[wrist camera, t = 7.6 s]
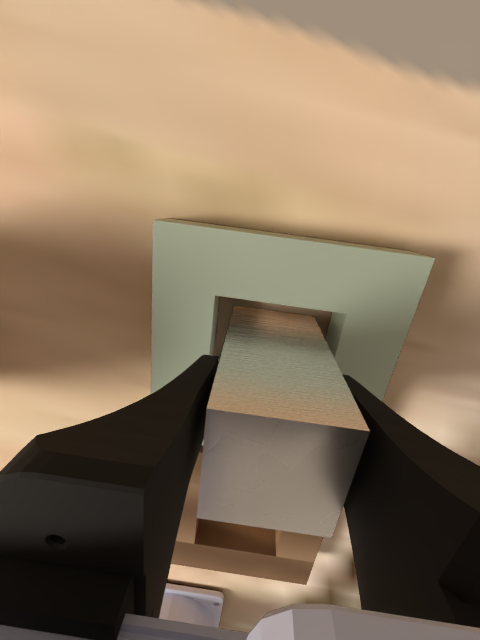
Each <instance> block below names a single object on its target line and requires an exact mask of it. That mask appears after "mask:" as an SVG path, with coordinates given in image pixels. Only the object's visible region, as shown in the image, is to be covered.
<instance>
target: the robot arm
mask: <svg viewBox="0 0 480 640" xmlns="http://www.w3.org/2000/svg"><path fill="white" fill-rule="evenodd" d="M218 359H219V357H218V356H211V355H204V354H203V355H202V356H201V357H199V358H198V359H197V360H196V361H195V362H194V363H193V364H192V365H191V366H189V367H188V368H187V369H186V370H185V371H183V372H182V373H181V374H180V375H178V376H177V377H176V378H175V379H173V380H172V381H170V382H169V383H167V384H166V385H165V386H163V387H162V388H160V389H159V390H157V391H156V392H154V393H152V394H150V395H149V396H147V397H145V398H143V399H141V400H139V401H137V402H135V403H133V404H131V405H128V406H126V407H124V408H122V409H120V410H117V411H115V412H113V413H110V414H107V415H105V416H102V417H99V418H96V419H93V420H90V421H88V422H85V423H81V424H78V425H75V426H71V427H67V428H63V429H60V430H56V431H52V432H48V433H44V434H40V435H37V436H36V437H35V438H34V439H32V440H31V441H30V442H29V443H28V444H27V445H26V446H25V447H24V448H23V449H22V450H21V451H20V452H19V453H18V454H17V455H16V456H15V457H14V458H13V459H12V460H11V461H10V462H9V463H8V464H7V465H6V466H5V467H4V468H3V469H2V470H1V471H0V640H480V466H478V465H476V464H475V463H473V462H471V461H469V460H467V459H466V458H464V457H462V456H460V455H458V454H457V453H455V452H453V451H452V450H450V449H448V448H447V447H445V446H443V445H442V444H440V443H439V442H437V441H435V440H434V439H432V438H431V437H429V436H428V435H426V434H425V433H423V432H422V431H420V430H419V429H417V428H416V427H414V426H413V425H412V424H410V423H409V422H408V421H406V420H405V419H403V418H402V417H401V416H399V415H398V414H397V413H395V412H394V411H393V410H392V409H390V408H389V407H388V406H387V405H385V404H384V403H383V402H382V401H380V400H379V399H378V398H377V397H376V396H374V395H373V394H372V393H371V392H370V391H368V390H367V389H366V388H365V387H363V386H362V385H361V384H360V383H359V382H357V381H356V380H355V379H353V378H352V377H351V376H349V375H344V374H342V375H343V377H344V379H345V381H346V383H347V385H348V387H349V389H350V391H351V394H352V396H353V398H354V400H355V402H356V404H357V406H358V408H359V410H360V412H361V414H362V416H363V418H364V420H365V422H366V424H367V426H368V428H369V430H370V433H369V435H368V438H367V441H366V444H365V446H364V449H363V452H362V455H361V458H360V460H359V463H358V466H357V469H356V471H355V474H354V477H353V480H352V483H351V485H350V488H349V491H348V494H347V496H346V499H345V502H344V508H345V513H346V518H347V523H348V528H349V534H350V539H351V545H352V550H353V556H354V562H355V568H356V574H357V580H358V587H359V594H360V600H361V607H362V609H355V608H349V607H342V606H336V605H330V604H292V605H289V606H286V607H283V608H280V609H277V610H274V611H271V612H268V613H266V615H265V616H264V617H263V618H262V619H261V620H260V622H259V623H258V624H257V625H256V626H255V628H254V629H253V630H252V631H251V633H246V632H240V631H234V630H228V629H221V628H219V623H220V617H221V612H222V606H223V600H224V595H223V593H222V592H219V591H214V590H207V589H201V588H195V587H188V586H182V585H176V584H169V583H167V578H168V574H169V569H170V565H171V560H172V556H173V551H174V547H175V542H176V538H177V534H178V529H179V525H180V520H181V516H182V512H183V507H184V503H185V499H186V495H187V490H188V486H189V482H190V479H191V475H192V472H193V469H194V466H195V463H196V460H197V457H198V454H199V451H200V448H201V445H202V442H203V439H204V431H205V420H206V409H207V405H208V401H209V398H210V394H211V390H212V386H213V383H214V379H215V375H216V372H217V368H218Z"/></svg>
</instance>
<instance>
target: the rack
mask: <svg viewBox="0 0 480 640" xmlns="http://www.w3.org/2000/svg"><path fill="white" fill-rule="evenodd" d="M434 260H435V258H433V257H430V256H426V255H423V254H419V253H416V252H412V251H407V250H399V249H392V248H385V247H377V246H370V245H362V244H355V243H348V242H340V241H333V240H325V239H318V238H310V237H303V236H296V235H288V234H281V233H273V232H266V231H259V230H251V229H244V228H236V227H229V226H222V225H214V224H207V223H199V222H192V221H185V220H177V219H170V218H166V219H157V220H153V247H152V330H151V394H152V393H154V392H156V391H157V390H159V389H160V388H162V387H163V386H165V385H166V384H167V383H169V382H170V381H172V380H173V379H175V378H176V377H177V376H178V375H180V374H181V373H182V372H183V371H185V370H186V369H187V368H188V367H189V366H191V365H192V364H193V363H194V362H195V361H196V360H197V359H198V358H199V357H201V356H202V355H203V354H204V355H211V356H214V347H215V338H216V328H217V318H218V308H219V298H220V296H222V297H230V298H237V299H244V300H251V301H258V302H265V303H273V304H280V305H287V306H294V307H301V308H308V309H316V310H323V311H330V312H332V315H331V319H330V323H329V327H328V331H327V334H326V338H325V340H326V342H327V344H328V346H329V348H330V350H331V353H332V355H333V357H334V359H335V361H336V363H337V365H338V367H339V369H340V371H341V373H342V374H344V375H349V376H351V377H352V378H353V379H355V380H356V381H357V382H359V383H360V384H361V385H362V386H363V387H365V388H366V389H367V390H368V391H370V392H371V393H372V394H373V395H374V396H376V397H377V398H378V399H379V400H380V401H383V398H384V395H385V392H386V390H387V387H388V384H389V382H390V379H391V376H392V374H393V371H394V368H395V366H396V363H397V360H398V357H399V355H400V352H401V349H402V347H403V344H404V341H405V339H406V336H407V333H408V330H409V328H410V325H411V322H412V320H413V317H414V314H415V312H416V309H417V306H418V303H419V301H420V298H421V295H422V293H423V290H424V287H425V285H426V282H427V279H428V276H429V274H430V271H431V268H432V266H433V263H434ZM203 442H204V439H203ZM203 442H202V446H203Z"/></svg>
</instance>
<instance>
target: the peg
mask: <svg viewBox="0 0 480 640" xmlns="http://www.w3.org/2000/svg"><path fill="white" fill-rule="evenodd" d="M369 433H370V430H369V428H368V426H367V424H366V422H365V420H364V418H363V416H362V414H361V412H360V410H359V408H358V406H357V404H356V402H355V400H354V398H353V396H352V394H351V391H350V389H349V387H348V385H347V383H346V381H345V379H344V377H343V375H342V373H341V371H340V369H339V367H338V365H337V363H336V361H335V359H334V357H333V355H332V353H331V350H330V348H329V346H328V344H327V342H326V340H325V338H324V336H323V334H322V332H321V330H320V328H319V326H318V324H317V322H316V320H315V318H314V316H308V315H300V314H293V313H285V312H278V311H270V310H263V309H255V308H248V307H240V306H234V309H233V313H232V316H231V320H230V324H229V327H228V331H227V335H226V338H225V342H224V346H223V350H222V353H221V357H220V361H219V364H218V368H217V372H216V375H215V379H214V383H213V386H212V390H211V394H210V398H209V401H208V405H207V409H206V420H205V431H204V442H203V453H202V464H201V475H200V486H199V497H198V508H197V518H200V519H207V520H213V521H220V522H227V523H234V524H240V525H247V526H254V527H261V528H267V529H274V530H281V531H288V532H294V533H301V534H308V535H315V536H321V537H328V538H332V535H333V533H334V530H335V527H336V524H337V521H338V519H339V516H340V513H341V510H342V508H343V505H344V502H345V499H346V496H347V494H348V491H349V488H350V485H351V483H352V480H353V477H354V474H355V471H356V469H357V466H358V463H359V460H360V458H361V455H362V452H363V449H364V446H365V444H366V441H367V438H368V435H369Z"/></svg>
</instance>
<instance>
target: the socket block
mask: <svg viewBox="0 0 480 640" xmlns="http://www.w3.org/2000/svg"><path fill="white" fill-rule="evenodd" d="M202 453H203V446H202V445H201V448H200V451H199V454H198V457H197V460H196V463H195V466H194V469H193V472H192V475H191V479H190V482H189V486H188V490H187V495H186V499H185V503H184V507H183V512H182V516H181V520H180V525H179V529H178V534H177V538H176V542H175V547H174V551H173V556H172V560H171V564H176V565H182V566H189V567H195V568H202V569H208V570H214V571H221V572H227V573H234V574H240V575H246V576H253V577H259V578H265V579H272V580H278V581H285V582H291V583H297V584H304V585H306V584H307V581H308V578H309V575H310V573H311V570H312V567H313V564H314V561H315V558H316V556H317V553H318V550H319V547H320V544H321V542H322V539H323V537H321V536H315V535H308V534H301V533H294V532H288V531H281V530H274V529H267V528H261V527H254V526H247V525H240V524H234V523H227V522H220V521H213V520H207V519H200V518H197V508H198V497H199V486H200V475H201V464H202Z"/></svg>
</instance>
